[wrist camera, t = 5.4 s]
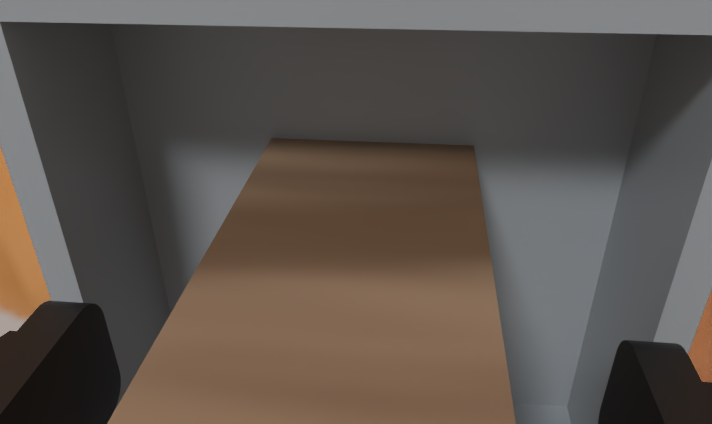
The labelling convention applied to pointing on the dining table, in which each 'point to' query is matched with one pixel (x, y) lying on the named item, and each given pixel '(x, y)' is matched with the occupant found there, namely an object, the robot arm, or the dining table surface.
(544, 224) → the grey tub
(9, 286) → the dining table surface
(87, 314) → the robot arm
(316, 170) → the walnut block
